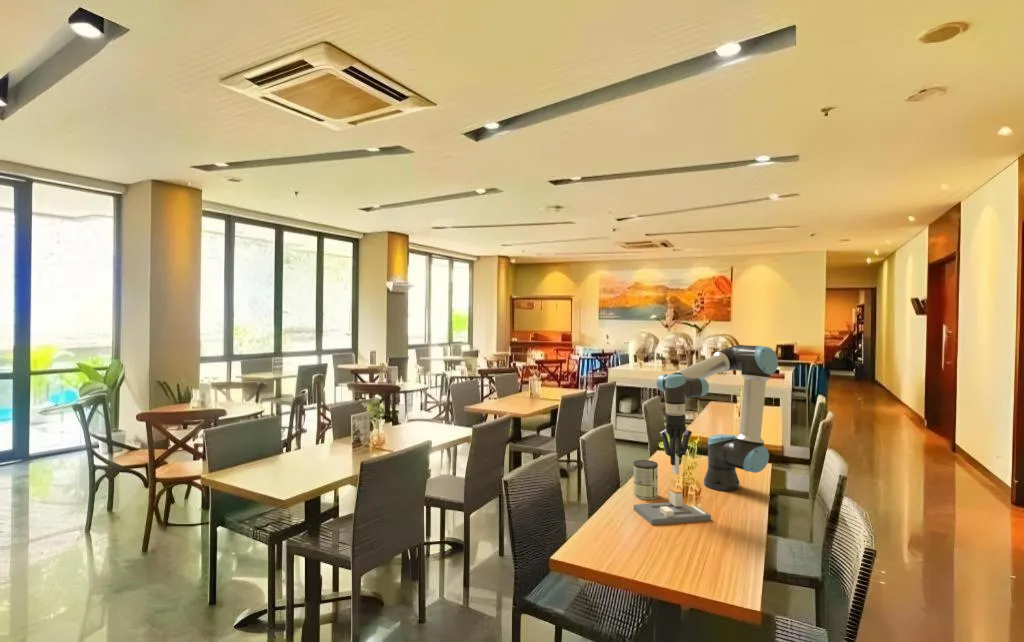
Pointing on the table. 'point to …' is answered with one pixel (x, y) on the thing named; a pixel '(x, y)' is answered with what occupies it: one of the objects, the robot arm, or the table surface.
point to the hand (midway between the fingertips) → (675, 472)
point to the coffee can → (645, 479)
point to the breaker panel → (675, 518)
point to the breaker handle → (675, 497)
